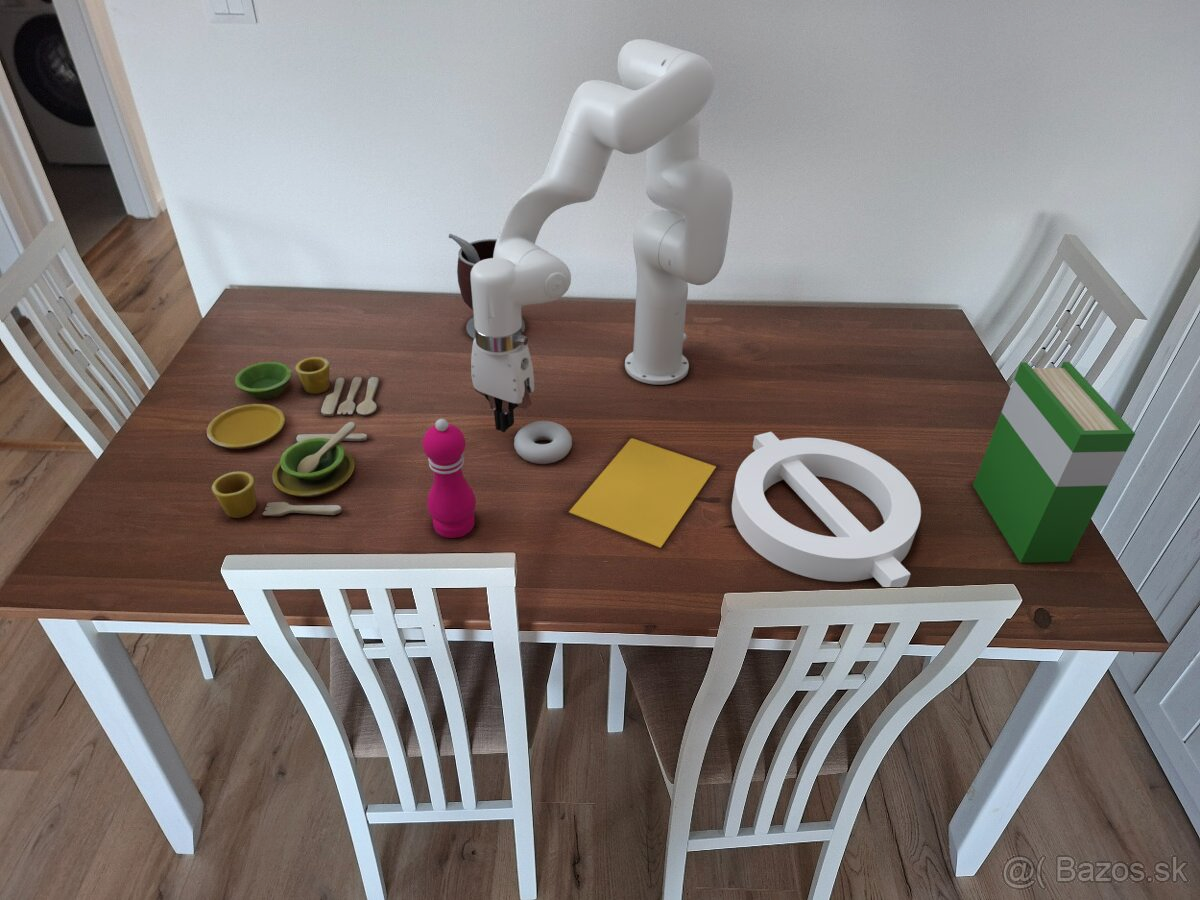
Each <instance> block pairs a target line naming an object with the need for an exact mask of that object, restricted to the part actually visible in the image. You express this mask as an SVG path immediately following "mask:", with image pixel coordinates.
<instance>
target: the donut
mask: <svg viewBox="0 0 1200 900" xmlns="http://www.w3.org/2000/svg"><path fill="white" fill-rule="evenodd" d="M513 441H514V442H513V446H514V449H515V452H516V453H517V454H518V456H519V457H520V458H521V459H523V460H525V461H527V462H528V463H529V462H530V463H532V464H537V465H548V464H553V463H556V462H558V461H560V460H562V459H564V458H565V457H566V456H567V455H568V454H569V453H570V451H571V449H572V446H573V437H572V435H571V433H570V431H569V430H568V429H567V428H566V427H565V426H563V425H562V424H560V423H557V422H555V421H550V420H537V421H532V422H531V423H527V424H525V425H524V426H522V427H521V428H520V429H519V430H518V431H517V433H516V434H515V436H514V439H513ZM539 441H549V443H536V442H539Z"/></svg>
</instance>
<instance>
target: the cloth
mask: <svg viewBox="0 0 1200 900" xmlns="http://www.w3.org/2000/svg"><path fill="white" fill-rule="evenodd" d="M716 468H717V466H716V465H713V464H710V463H707V462H704V461H702V460H698V459H695V458H692V457H689V456H686V455H684V454H680V453H677V452H675V451H671V450H668V449H665V448H662V447H660V446H656V445H654V444H651V443H649V442H645V441H642V440H639V439H635V438H633V437H631V438H630V439H629V440H628V441H627V443H626V444H625V445H624V446H623V447H622V449H620V451H619V452H617V454H616V455H615V457H613V459H612V460H611V461H610V463H608V465H607V466H606V467H605V468H604V469H603V470H602V471H601V473H600V474H599V475H598V477H596V479H595V480H594V481H593V482H592V484H591V485H590V486H589V487H588V489H587V490H586V491H585V492H584V493H583V495H581V497H580V498H579V499H578V500H577V501H576V503H574V505H573V506H572V507H571V508H570V510H569V511H568V514H571V515H574V516H576V517H579V518H581V519H584V520H587V521H589V522H591V523H594V524H597V525H599V526H603V527H604V528H606V529H610V530H612V531H615V532H618V533H621V534H624V535H626V536H628V537H630V538H633V539H635V540H638V541H641V542H643V543H646V544H648V545H650V546H651V545H652V546H654V547H656V548H659V549H662V547H663V546H664V544H665V543H666V541H667V540H668V539H669V536H671V534H672V533H673V531H674V530H675V528H676V527H677V525H678V524H679V522H680V521H681V520H682V518H683V516H684V515H685V514H686V512H687V511H688V509H689V508H690V506H691V505H692V504H693V502H694V500H695V499H696V498H697V496H698V495H699V493H700V492H701V490H702V489H703V487H704V486H705V484H706V483H707V482H708V480H709V478H710V477H711V475H712V474H713V472H714V471H715V470H716Z"/></svg>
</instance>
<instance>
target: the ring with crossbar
mask: <svg viewBox="0 0 1200 900" xmlns="http://www.w3.org/2000/svg"><path fill="white" fill-rule="evenodd" d="M752 450H754V451H753V452H751V453H750V454H748V456H746V457H745V459H744V460H743V461H742V462H741V464H740V466H739V467H738V470H737V472H736V475H735V480H734V486H733V494H732V501H731V515H732V519H733V522H734V525H735V527H736V529H737V530H738V532H739V534H740V535H741V537H742V538H743V540H744V541H745V542H746V543H747V544H748V545H749V546H750V547H751V548H752V549H753V550H754V551H755V552H756V553H757V554H758V555H760V556H761V557H763V558H764V559H766V560H767V561H769V562H770V563H772V564H774V565H775V566H777V567H779V568H782V569H784V570H785V571H787V572H790V573H793V574H796V575H800V576H802V577H806V578H809V579H815V580H820V581H826V582H840V583H841V582H843V583H845V582H858V581H864V580H870V579H872V578H874V579H875V581H876V582H877V583H878V584H879V585H880V586H881V587H882V588H883V587H901V588H903V587H906V586H907V585H908V582H909V580H910V577H911V572H910V571H908V569H906V567H905V566H904V565H903V564H902V562H903V561H904V560H905V559H906V557H907V556H908V554H909V553H910V550H911V548H912V544H913V542H914V539H915V536H916V533H917V530H918V528H919V526H920V525H919V524H920V522H921V516H922V509H921V507H922V506H921V501H920V499H919V497H918V494H917V491H916V490H915V488H914V486H913V485H912V483H911V482H910V481H909V479H907V477H906V476H905V475H904V474H903V473H902V472H901V471H900V470H899V469H898V468H896V467H895V466H894V465H893V464H891V463H890V462H888V461H887V460H885V459H884V458H883V457H880V456H879V455H877V454H875V453H874V452H871V451H870V450H867V449H864V448H862V447H860V446H856V445H853V444H851V443H848V442H843V441H839V440H834V439H828V438H821V437H794V438H785V439H781V440H780V439H779V438H778V437H777V436H776V435H775V434H774V433H773V431H768V432H764V433H760V434H756V435H754V436H753V442H752ZM817 477H820V478H825V479H831V480H834V481H837V482H839V483H842V484H845V485H848V486H850V487H852V488H854V489H855V490H857V491H859V492H861V494H863V495H865V496H866V497H867V498H868V499H869V500H870V501H871V502H872V503H873V504H874V505H875V507H876V508H877V509H878V511H879V513H880V515H881V517H882V520H883V524H881V525H880V526H879V527H877V528H876V529H873V530H872V531H869V529H868V528H867V527H865V526H864V525H863V524H862V522H860V521H859V520H858V518H856V516H854V514H853V513H852V512H851V511H850V510H849V509H848V508H847V507H846V506H845V505H844V504H843V503H842V502H841V501H840V500H839V499H838V498H837V497H836V496H835V495H834V494H833V493H832V492H831V491H830V490H829V489H828V488H827V487H826V486H825V485H824V484H823V483H822V482H821V481H820V480H819V478H817ZM781 481H784V482H785V483H786V484H787V485H788V486H789V487H790V488H791V489H792V490H793V491H794V492H795V493H796V495H797V496H798V497H799V498H800V499H801V500H802V501H803V502H804V503H805V504H806V505H807V506H808V508H810V509H811V511H812V512H813V513H814V514H815V515H816V516H817V517H818V518H819V519H820V521H822V522H823V523H824V525H825V526H826V527H827V528H828V529H829V530H830V531H831V532H832V533H833V534H834V535H835V536H829V535H823V534H818V533H816V532H815V533H814V532H811V531H808V530H806V529H802V528H801V527H798V526H797V525H794V524H792V523H791V522H789V521H787V520H786V519H785V518H783V517H782V516H781V515H779V514H778V513H777V512H776V511H775V510H774V509H773V507H772V506H771V505H770V503H769V502H768V500H767V498H766V496H765V492H766V491H767V490H768V489H769V488H770V487H772V486H773V485H775V484H776V483H779V482H781Z"/></svg>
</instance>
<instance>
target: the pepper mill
mask: <svg viewBox="0 0 1200 900" xmlns="http://www.w3.org/2000/svg"><path fill="white" fill-rule="evenodd" d="M465 449H466V438H465V434H464V433H463V432H462V430H461V429H460V428H459V427H458V426H456V425H454V424H451V423H449V422H448V421H447V420H446V419H445V418H439V419H437V420H436V421H435V423H434V425H433V426H430V428H428V430H427V431H426V432H425V433H424V436H423V438H422V450H423V452H424V454H425V455H426V457H427V460H428V466H429V468H430V470H431V471H433V483H432V485H431V488H430V490H429V492H428V494H427V495H428V496H427V500H426V501H427V502H426V503H427V505H426V506H427V511H428V513H429V515H430V517H431V518H432V525H433V530H434V531H435V532H436V534H437V535H439V536H441V537H443V538H447V539H457V538H462V537H464V536H466V535H467V534H469V533H470V532H471V531H472V530H473V529H474V527H475V523H476V521H475V513H474V512H475V510H476V508H477V507H476V505H477V501H476V496H475V495H476V494H475V492H474V491H473V488H472V487H471V486H470V484H469V482H468V481H467V480H466V478H465V476H464V474H463V470H462V467H463V466H464V464H465V459H464V452H465Z"/></svg>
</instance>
